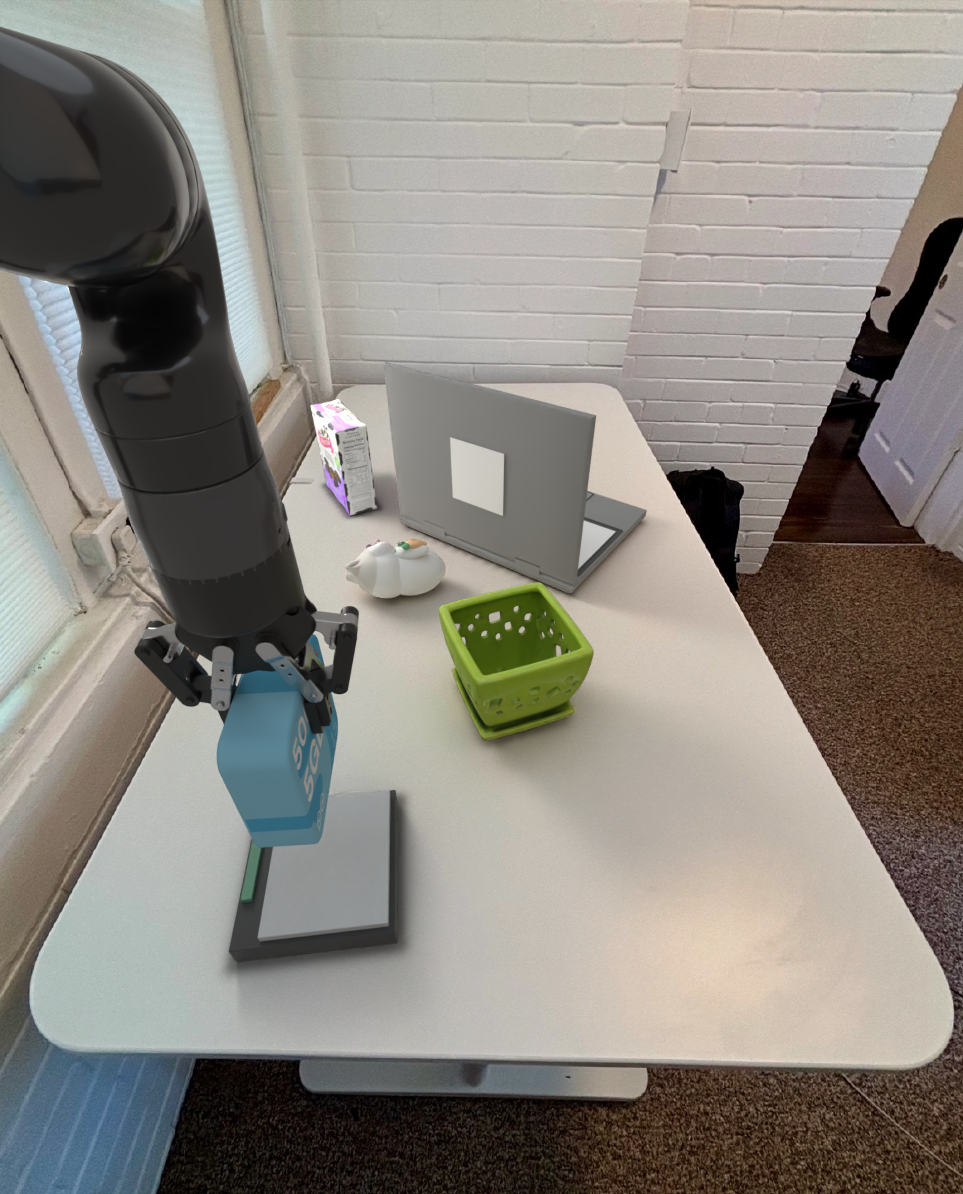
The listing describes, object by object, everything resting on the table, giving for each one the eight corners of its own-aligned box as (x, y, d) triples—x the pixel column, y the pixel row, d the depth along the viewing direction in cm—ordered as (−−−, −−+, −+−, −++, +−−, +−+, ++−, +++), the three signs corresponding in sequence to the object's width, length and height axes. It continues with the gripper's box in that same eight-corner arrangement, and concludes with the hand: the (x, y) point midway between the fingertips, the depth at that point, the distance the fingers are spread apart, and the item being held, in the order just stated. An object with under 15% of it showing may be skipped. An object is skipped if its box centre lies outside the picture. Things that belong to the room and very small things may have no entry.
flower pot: (586, 726, 71) (599, 651, 63) (477, 762, 67) (475, 686, 59) (537, 649, 81) (542, 576, 73) (440, 676, 77) (434, 602, 69)
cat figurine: (447, 528, 87) (343, 532, 83) (454, 579, 84) (346, 584, 81) (438, 555, 96) (343, 559, 92) (444, 602, 93) (346, 608, 90)
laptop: (644, 522, 105) (676, 359, 87) (571, 599, 89) (591, 418, 71) (486, 470, 121) (485, 323, 103) (399, 527, 105) (380, 364, 87)
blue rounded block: (320, 852, 44) (285, 754, 36) (258, 856, 44) (210, 759, 36) (340, 723, 53) (315, 624, 45) (289, 726, 53) (256, 627, 45)
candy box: (325, 485, 117) (308, 403, 107) (353, 477, 119) (340, 397, 109) (348, 517, 108) (333, 431, 97) (379, 508, 110) (367, 424, 99)
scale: (235, 962, 51) (225, 948, 49) (264, 815, 62) (256, 798, 60) (397, 943, 52) (393, 928, 50) (397, 801, 63) (394, 784, 61)
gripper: (52, 585, 29) (169, 781, 40) (342, 565, 31) (380, 761, 41) (108, 507, 35) (197, 697, 46) (351, 493, 36) (382, 682, 47)
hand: (284, 726), depth 44 cm, fingers closed on blue rounded block, 4 cm apart
